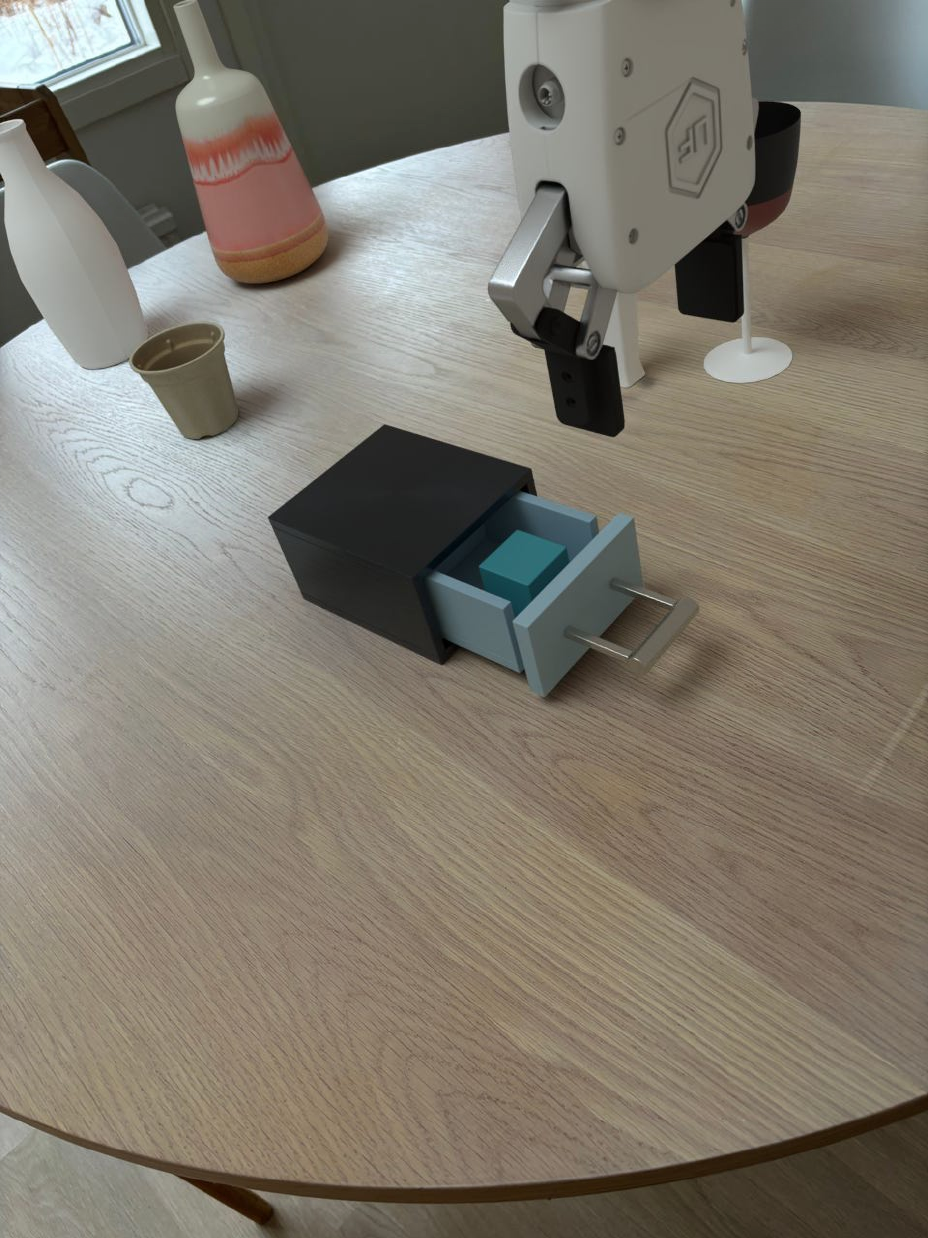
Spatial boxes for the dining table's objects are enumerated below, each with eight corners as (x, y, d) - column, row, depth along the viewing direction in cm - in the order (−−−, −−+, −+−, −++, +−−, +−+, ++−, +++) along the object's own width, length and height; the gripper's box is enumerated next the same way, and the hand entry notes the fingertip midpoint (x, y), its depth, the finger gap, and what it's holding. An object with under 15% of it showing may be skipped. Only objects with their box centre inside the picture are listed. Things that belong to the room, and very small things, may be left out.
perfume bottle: (586, 378, 92) (561, 217, 82) (626, 358, 93) (606, 197, 83) (614, 397, 89) (591, 232, 79) (655, 376, 90) (638, 211, 80)
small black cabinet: (550, 556, 75) (531, 468, 70) (441, 665, 70) (411, 578, 64) (410, 505, 84) (384, 423, 79) (303, 599, 78) (267, 517, 73)
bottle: (56, 383, 116) (-69, 158, 99) (82, 337, 125) (-30, 122, 108) (147, 364, 115) (36, 132, 98) (167, 318, 123) (67, 97, 106)
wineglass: (705, 336, 93) (690, 108, 80) (804, 334, 90) (806, 95, 76) (689, 384, 88) (670, 149, 75) (793, 383, 85) (794, 137, 71)
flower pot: (193, 397, 107) (159, 322, 101) (271, 395, 103) (240, 317, 97) (149, 449, 100) (110, 373, 95) (229, 449, 97) (194, 370, 91)
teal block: (576, 595, 69) (567, 546, 66) (539, 634, 67) (527, 585, 64) (528, 577, 71) (517, 528, 68) (491, 614, 69) (477, 566, 66)
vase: (204, 297, 125) (94, 34, 105) (256, 244, 134) (164, -8, 115) (306, 291, 120) (211, 12, 100) (352, 236, 129) (273, -30, 109)
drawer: (724, 617, 66) (720, 543, 62) (626, 736, 61) (614, 664, 56) (494, 534, 77) (477, 467, 73) (394, 627, 72) (370, 561, 68)
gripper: (541, 6, 28) (614, 500, 39) (835, -164, 36) (824, 288, 47) (355, 13, 32) (469, 455, 44) (653, -139, 40) (684, 269, 52)
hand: (653, 368), depth 45 cm, fingers open, 9 cm apart
